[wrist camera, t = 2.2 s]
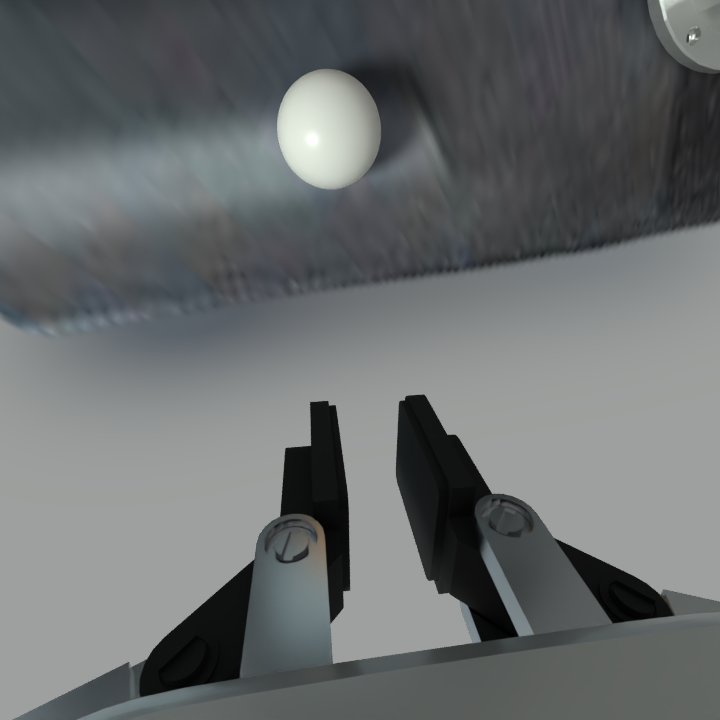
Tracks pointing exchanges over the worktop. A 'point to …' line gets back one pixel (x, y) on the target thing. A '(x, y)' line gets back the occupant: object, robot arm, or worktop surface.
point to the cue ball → (329, 129)
